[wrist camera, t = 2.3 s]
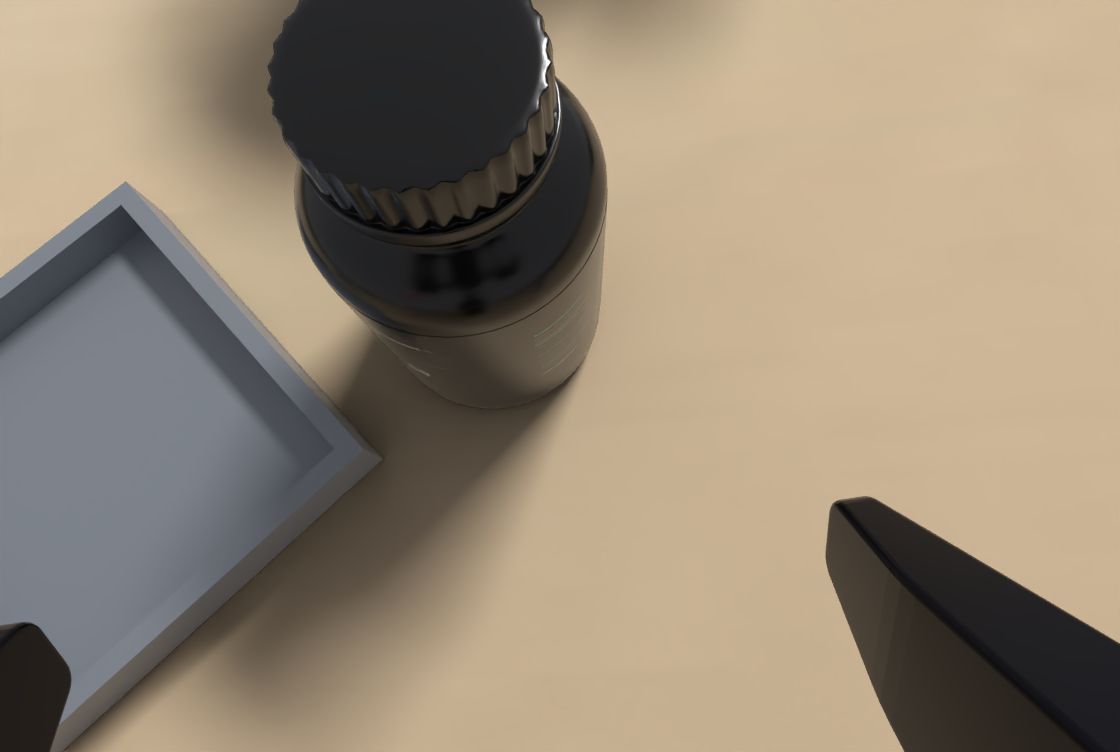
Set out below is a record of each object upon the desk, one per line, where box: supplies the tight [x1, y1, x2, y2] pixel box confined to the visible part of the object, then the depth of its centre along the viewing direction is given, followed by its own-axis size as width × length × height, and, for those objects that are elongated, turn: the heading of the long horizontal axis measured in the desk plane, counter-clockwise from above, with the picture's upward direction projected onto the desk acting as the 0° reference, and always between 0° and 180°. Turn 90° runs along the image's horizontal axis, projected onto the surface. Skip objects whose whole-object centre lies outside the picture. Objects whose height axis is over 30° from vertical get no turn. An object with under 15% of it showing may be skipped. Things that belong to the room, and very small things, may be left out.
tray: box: [0, 182, 383, 752], centre depth 21 cm, size 12×12×2 cm
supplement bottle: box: [267, 0, 607, 409], centre depth 17 cm, size 7×7×12 cm
